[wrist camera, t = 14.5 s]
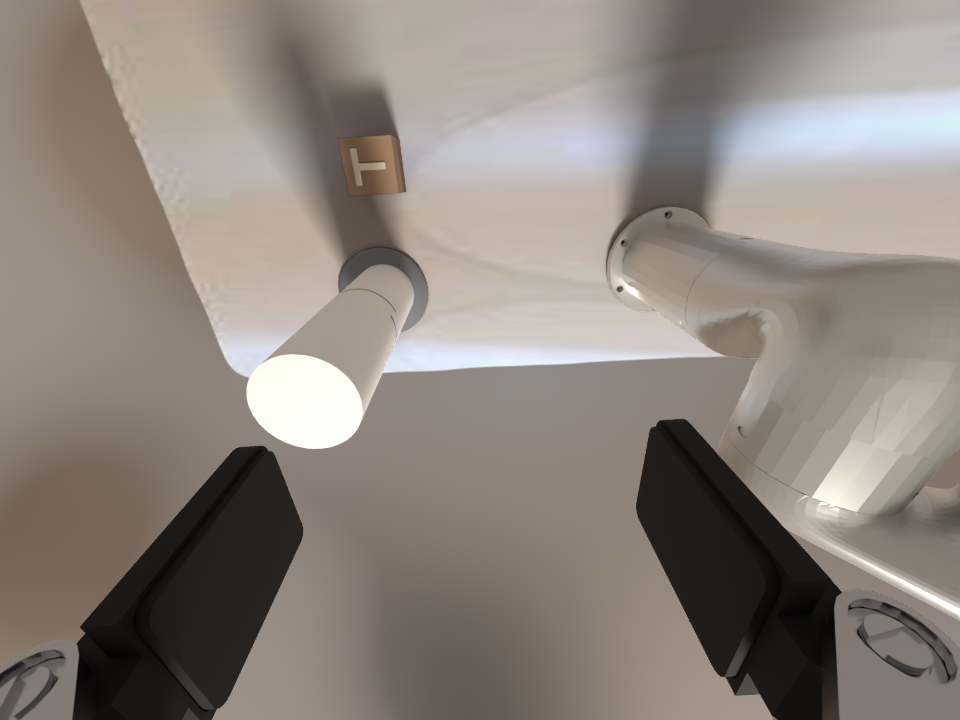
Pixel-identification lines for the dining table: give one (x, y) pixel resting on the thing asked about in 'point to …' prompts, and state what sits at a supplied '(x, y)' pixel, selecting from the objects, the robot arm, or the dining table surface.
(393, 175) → the wooden letter cube
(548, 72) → the dining table surface
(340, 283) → the charcoal mat
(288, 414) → the cylindrical container
